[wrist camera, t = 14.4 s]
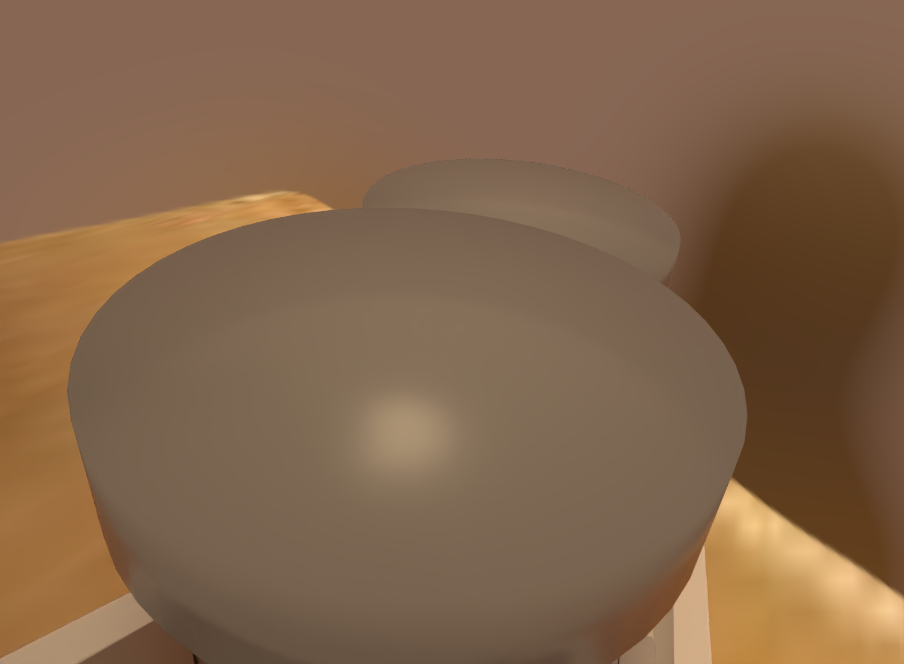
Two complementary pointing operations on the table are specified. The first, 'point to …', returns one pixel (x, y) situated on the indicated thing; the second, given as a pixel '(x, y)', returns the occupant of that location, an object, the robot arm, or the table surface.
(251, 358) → the brown pin with head
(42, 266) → the table surface
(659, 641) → the housing
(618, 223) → the grey capped peg
